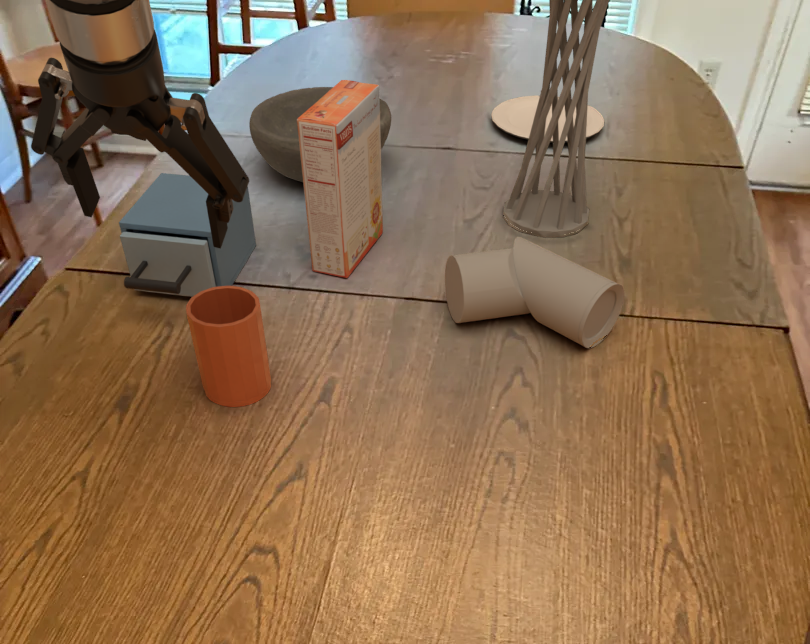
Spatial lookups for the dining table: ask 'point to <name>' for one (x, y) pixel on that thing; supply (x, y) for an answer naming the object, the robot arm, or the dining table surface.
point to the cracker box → (342, 176)
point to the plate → (521, 113)
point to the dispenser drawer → (167, 262)
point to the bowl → (292, 128)
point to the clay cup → (229, 345)
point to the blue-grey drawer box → (194, 221)
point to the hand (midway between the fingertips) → (156, 222)
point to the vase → (545, 207)
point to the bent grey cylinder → (533, 291)
